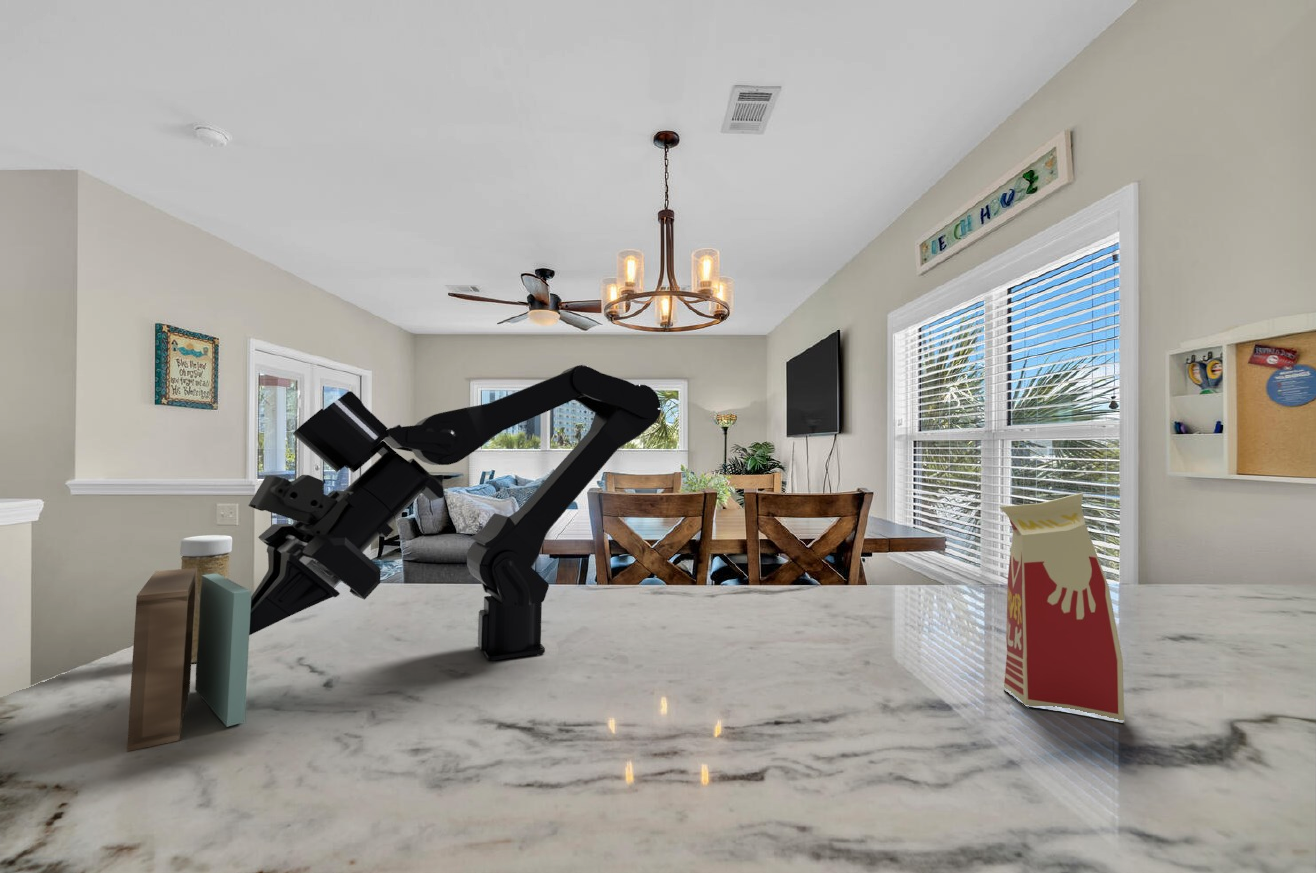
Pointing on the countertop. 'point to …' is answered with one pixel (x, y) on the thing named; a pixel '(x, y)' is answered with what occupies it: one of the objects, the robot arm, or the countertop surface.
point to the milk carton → (1060, 613)
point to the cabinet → (161, 658)
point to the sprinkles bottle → (204, 567)
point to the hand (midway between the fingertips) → (238, 631)
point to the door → (223, 647)
